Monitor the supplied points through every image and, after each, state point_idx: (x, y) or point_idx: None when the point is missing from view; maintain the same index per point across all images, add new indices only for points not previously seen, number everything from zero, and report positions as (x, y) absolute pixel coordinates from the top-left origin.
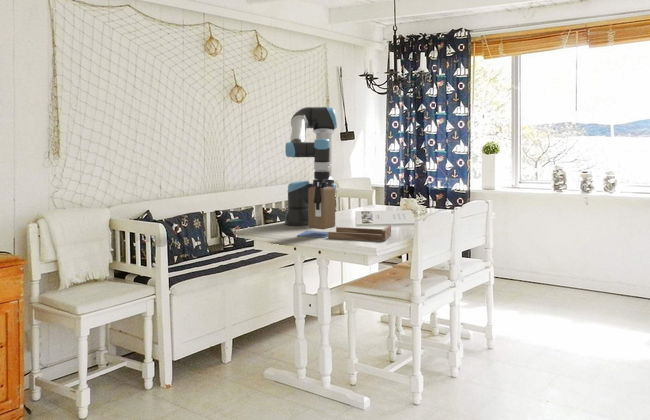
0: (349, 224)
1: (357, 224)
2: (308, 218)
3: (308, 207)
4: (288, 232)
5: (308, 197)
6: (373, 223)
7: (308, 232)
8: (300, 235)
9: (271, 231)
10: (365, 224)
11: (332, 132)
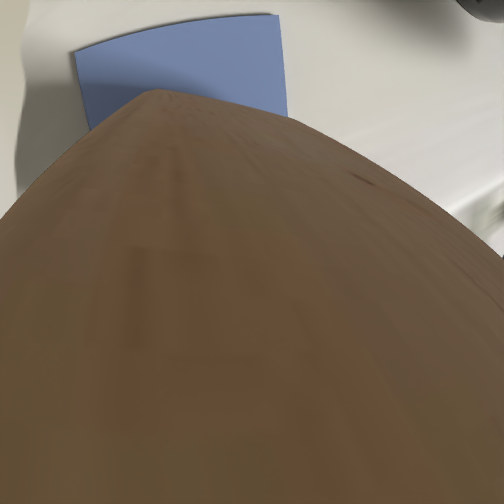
0: (489, 172)
1: (487, 198)
2: (135, 98)
3: (107, 119)
4: None
5: (19, 203)
6: (493, 235)
7: (217, 55)
8: (78, 73)
9: None
10: (484, 221)
11: None
